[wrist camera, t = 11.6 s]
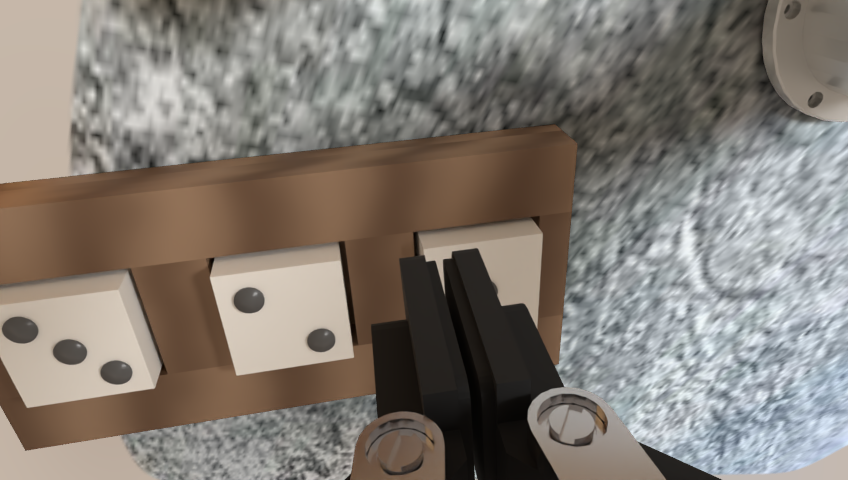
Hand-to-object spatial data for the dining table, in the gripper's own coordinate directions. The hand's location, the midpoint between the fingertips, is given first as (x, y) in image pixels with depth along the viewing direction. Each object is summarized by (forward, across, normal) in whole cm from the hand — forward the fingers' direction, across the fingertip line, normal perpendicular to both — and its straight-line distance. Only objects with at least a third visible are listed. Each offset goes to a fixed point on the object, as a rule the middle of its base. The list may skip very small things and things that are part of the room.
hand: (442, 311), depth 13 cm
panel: (+18, +6, +10) cm, 22 cm away
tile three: (+16, +16, +9) cm, 25 cm away
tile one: (+17, -4, +10) cm, 20 cm away
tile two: (+17, +6, +10) cm, 20 cm away
